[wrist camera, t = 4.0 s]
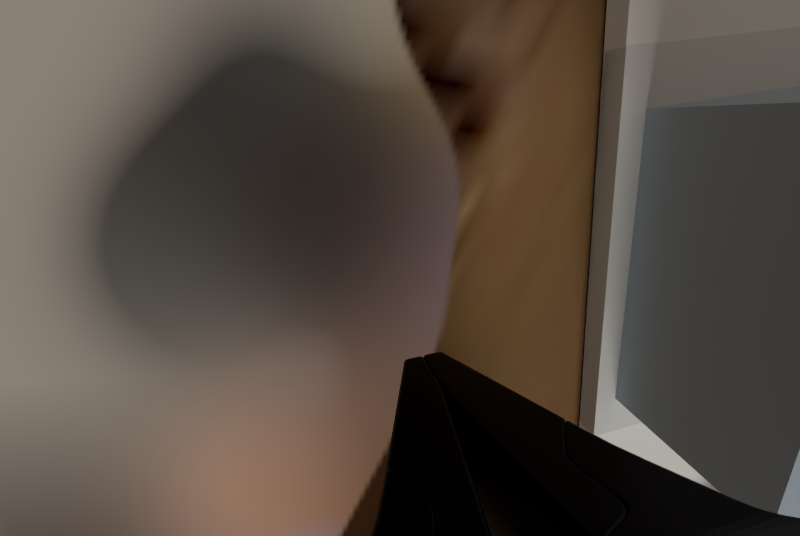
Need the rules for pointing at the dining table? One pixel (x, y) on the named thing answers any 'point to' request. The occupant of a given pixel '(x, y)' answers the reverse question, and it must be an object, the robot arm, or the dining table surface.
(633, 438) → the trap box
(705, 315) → the slate block
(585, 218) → the dining table surface
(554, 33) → the dining table surface
